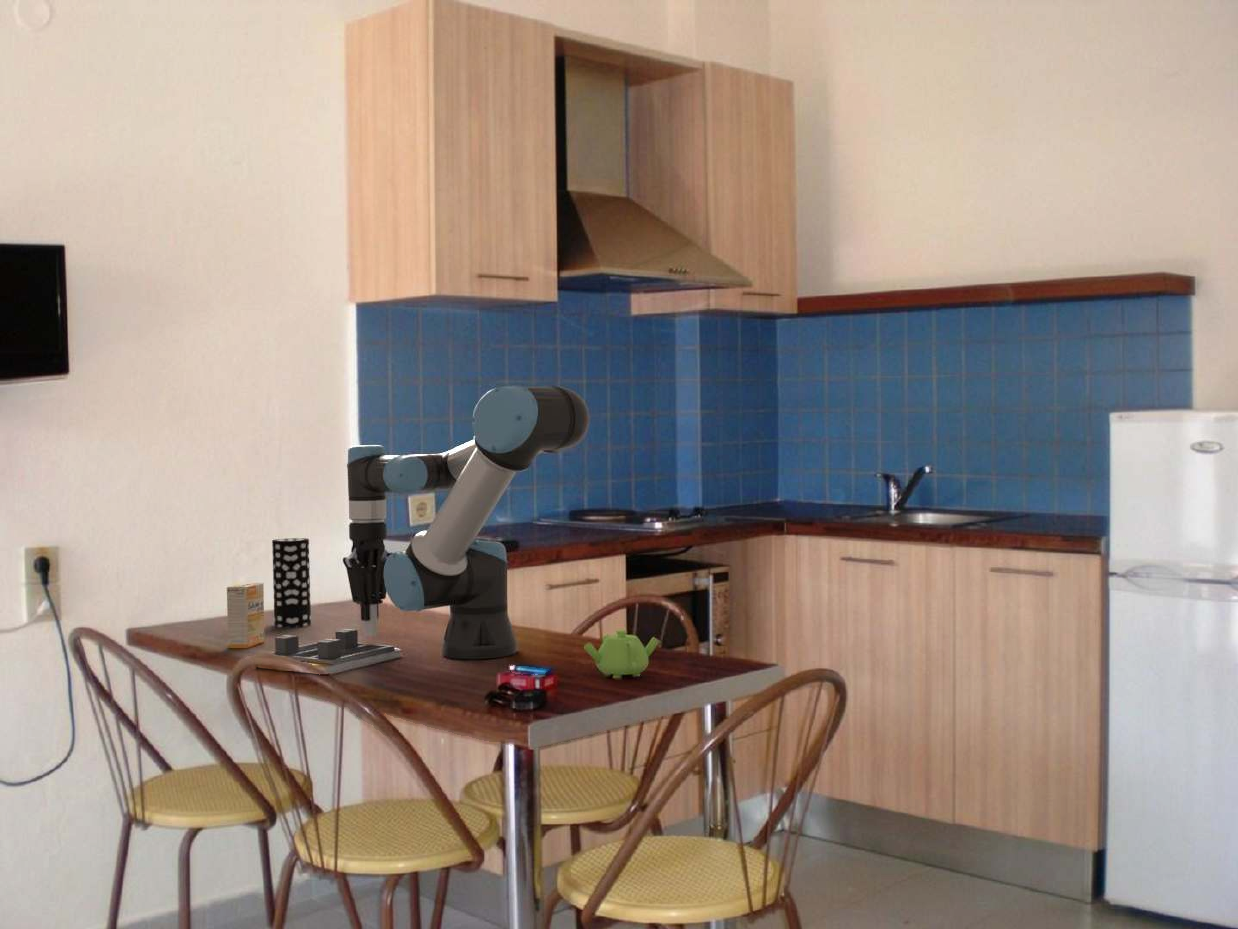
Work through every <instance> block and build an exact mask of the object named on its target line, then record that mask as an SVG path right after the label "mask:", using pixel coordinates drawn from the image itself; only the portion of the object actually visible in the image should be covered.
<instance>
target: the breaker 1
mask: <svg viewBox="0 0 1238 929" xmlns="http://www.w3.org/2000/svg"><path fill="white" fill-rule="evenodd" d="M274 640H275V641H274V643H275V645H274V646H275V651H276V654H280V655H292V654H296V653H299V646H300V645H299V636H298V635H296V634H295V635H293V634H287V635H286V634H285V635H284V634H283V635H281V636H277V637H274Z"/></svg>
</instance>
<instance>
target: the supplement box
mask: <svg viewBox="0 0 1238 929" xmlns="http://www.w3.org/2000/svg"><path fill="white" fill-rule="evenodd" d="M264 591H265V590H264V582H244V583H240V584H236V585H230V586H227V587H226V606H227V608H226V610H227V648H229V649H248V648H251V647H255V646H257V645H259V644H263V643H265V606H264V604H265V602H264V601H265V599H264V598H265V596H264V594H265V592H264Z"/></svg>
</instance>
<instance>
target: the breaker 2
mask: <svg viewBox="0 0 1238 929" xmlns="http://www.w3.org/2000/svg"><path fill="white" fill-rule="evenodd" d="M316 643H317V648H318V658H320V659H330V660H331V659H335V658H340V657H341V640H339V639H336V638H324V639H323V640H318V641H316Z"/></svg>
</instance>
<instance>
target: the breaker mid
mask: <svg viewBox="0 0 1238 929" xmlns="http://www.w3.org/2000/svg"><path fill="white" fill-rule="evenodd" d="M358 630H359V629H353V628H341V630H336V631H335V639H339V640H341V650H344V649H349V648H353V647H358V643H359V638H358V637H359V632H358Z"/></svg>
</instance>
